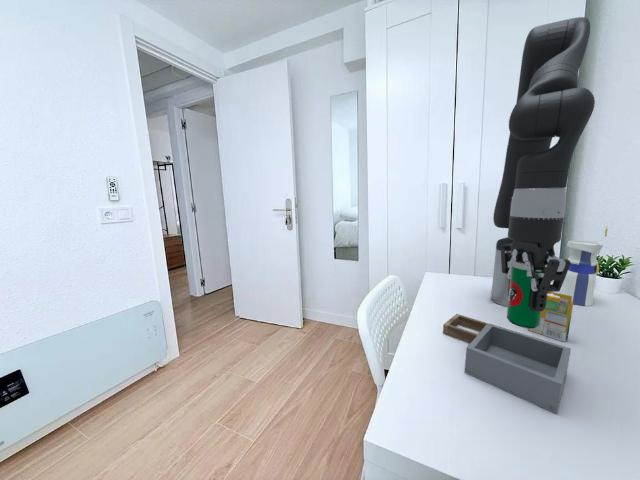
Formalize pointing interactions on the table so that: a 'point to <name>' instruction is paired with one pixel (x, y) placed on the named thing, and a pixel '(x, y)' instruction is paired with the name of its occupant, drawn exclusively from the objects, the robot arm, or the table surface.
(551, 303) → the crayon box
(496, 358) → the bin
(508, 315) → the soda can
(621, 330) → the table surface
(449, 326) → the frame
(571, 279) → the white plastic bottle
